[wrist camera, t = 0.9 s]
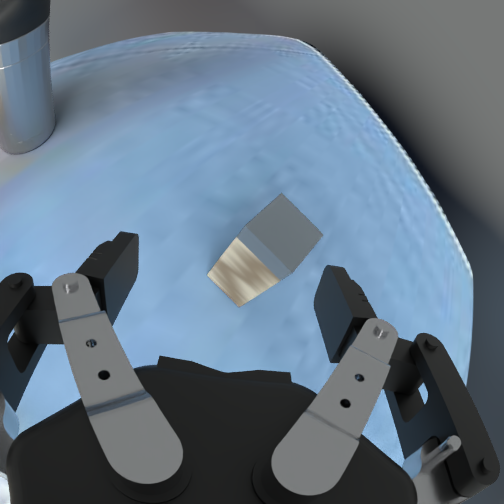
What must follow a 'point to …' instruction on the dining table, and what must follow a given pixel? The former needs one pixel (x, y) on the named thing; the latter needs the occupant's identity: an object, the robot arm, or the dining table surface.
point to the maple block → (265, 251)
